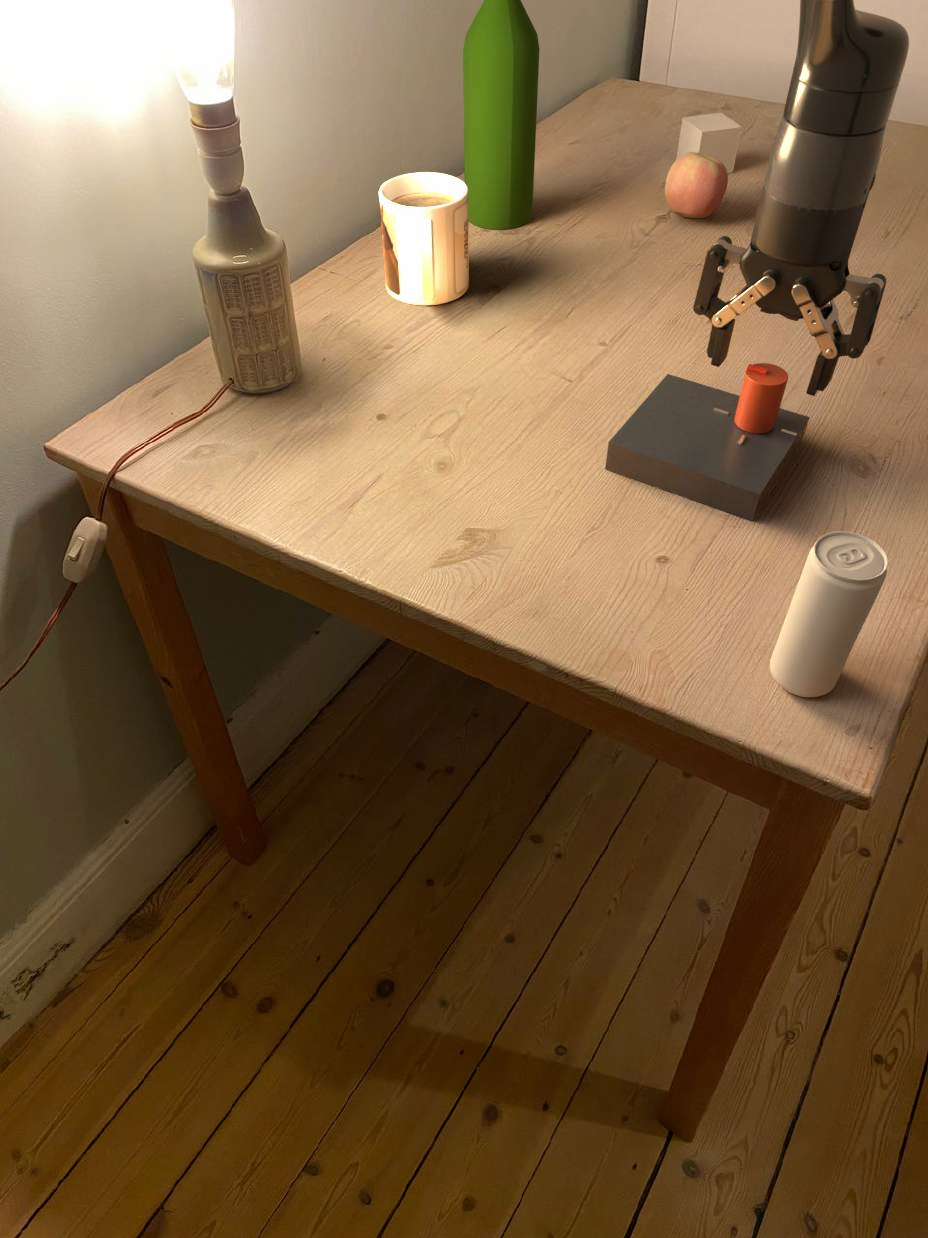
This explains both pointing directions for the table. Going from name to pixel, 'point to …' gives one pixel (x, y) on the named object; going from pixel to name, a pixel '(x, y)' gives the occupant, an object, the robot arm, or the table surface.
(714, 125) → the white block
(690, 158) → the apple
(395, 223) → the mug
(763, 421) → the control knob
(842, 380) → the table surface
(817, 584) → the beverage can
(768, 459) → the base block
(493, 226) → the wine bottle
